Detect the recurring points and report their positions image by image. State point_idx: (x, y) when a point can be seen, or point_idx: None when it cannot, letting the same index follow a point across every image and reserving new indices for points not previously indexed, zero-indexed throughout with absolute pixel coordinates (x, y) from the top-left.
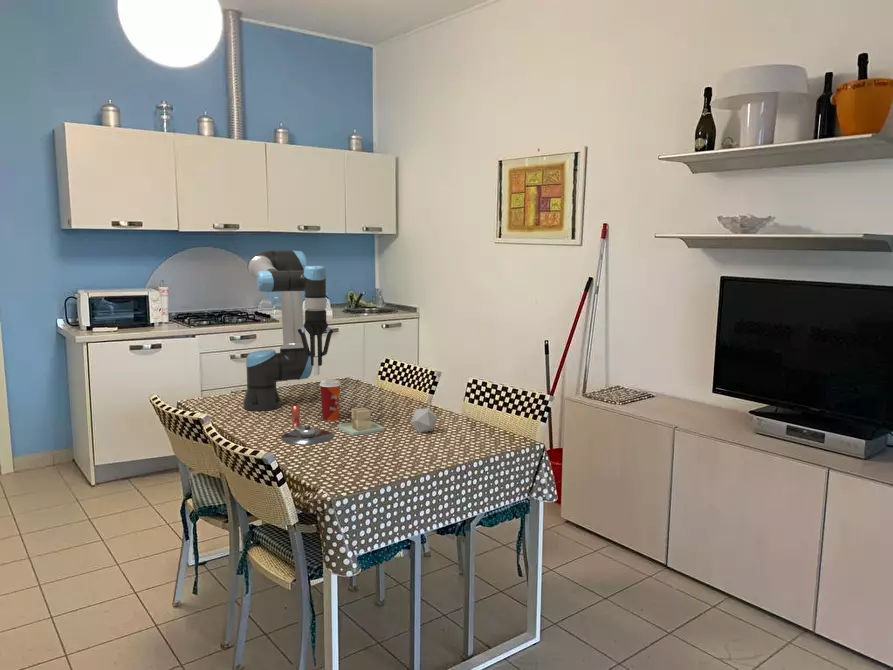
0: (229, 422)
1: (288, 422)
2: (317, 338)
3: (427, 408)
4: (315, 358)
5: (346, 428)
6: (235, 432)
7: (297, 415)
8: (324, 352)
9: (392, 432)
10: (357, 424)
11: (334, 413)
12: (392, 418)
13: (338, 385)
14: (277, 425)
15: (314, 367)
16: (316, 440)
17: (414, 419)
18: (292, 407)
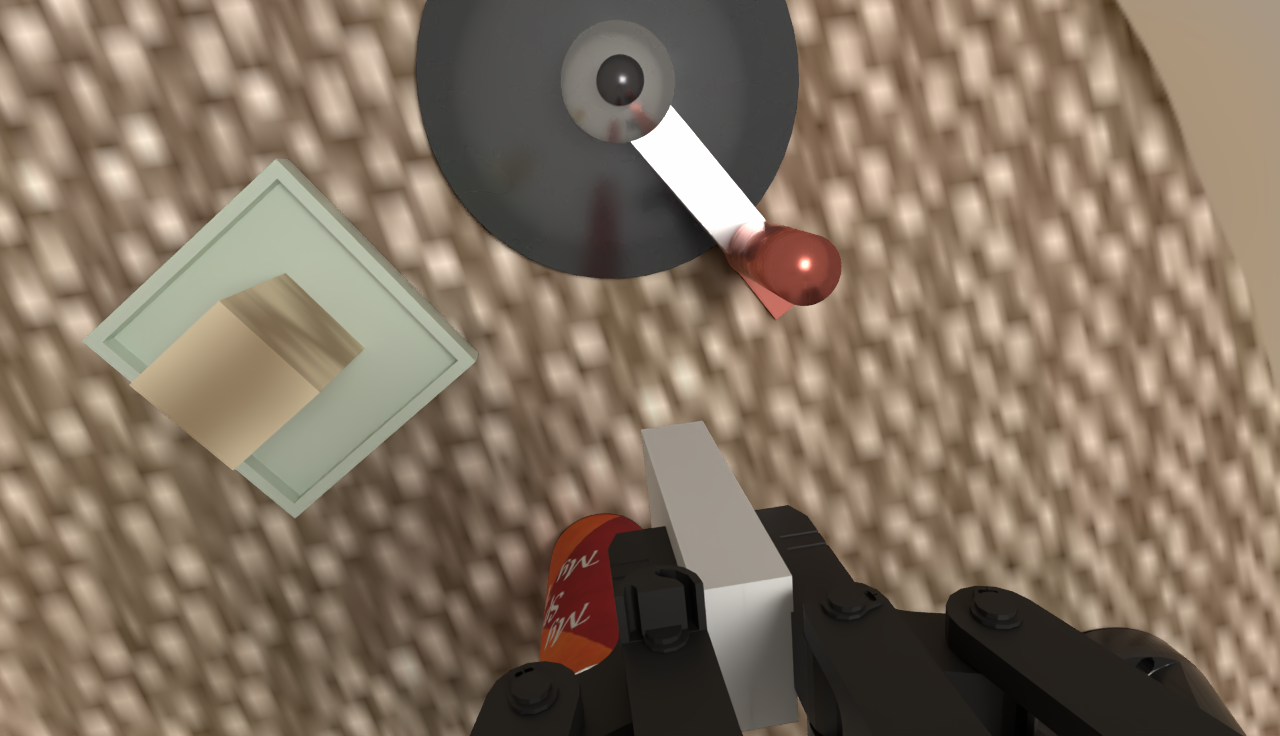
0: (1206, 373)
1: (852, 439)
2: None
3: None
4: (740, 567)
5: (370, 269)
6: (1128, 151)
7: (760, 234)
8: (526, 725)
9: (30, 325)
10: (272, 287)
11: (565, 554)
12: (189, 660)
13: None
14: (903, 359)
15: (719, 474)
16: None
17: None
18: (824, 238)
